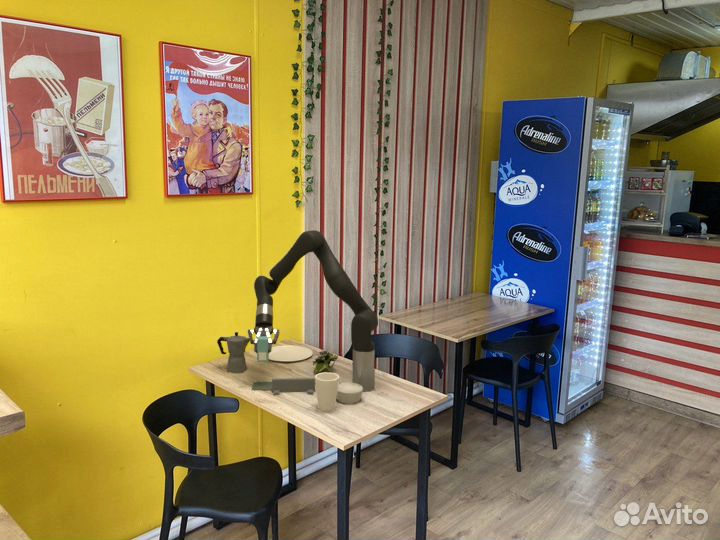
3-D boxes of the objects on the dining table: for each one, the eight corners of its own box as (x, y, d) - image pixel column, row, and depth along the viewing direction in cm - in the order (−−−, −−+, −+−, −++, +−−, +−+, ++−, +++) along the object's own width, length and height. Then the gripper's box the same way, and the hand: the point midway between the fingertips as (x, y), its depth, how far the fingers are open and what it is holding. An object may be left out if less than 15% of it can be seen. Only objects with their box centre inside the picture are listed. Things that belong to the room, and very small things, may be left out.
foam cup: (309, 407, 219) (310, 376, 217) (327, 401, 226) (328, 370, 223) (325, 415, 213) (326, 382, 210) (343, 408, 219) (344, 377, 217)
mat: (274, 382, 244) (274, 381, 244) (273, 390, 236) (273, 389, 235) (253, 382, 243) (253, 381, 243) (251, 390, 235) (251, 389, 234)
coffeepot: (252, 366, 263) (252, 329, 260) (249, 373, 254) (249, 335, 251) (220, 366, 263) (219, 329, 260) (215, 373, 254) (214, 334, 250)
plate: (294, 345, 298) (295, 342, 298) (322, 357, 279) (322, 354, 279) (253, 353, 282) (253, 350, 282) (279, 367, 263) (279, 364, 263)
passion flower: (323, 379, 264) (333, 356, 268) (335, 382, 255) (346, 358, 259) (304, 369, 258) (315, 346, 262) (317, 372, 250) (328, 347, 253)
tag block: (268, 358, 240) (268, 336, 238) (268, 362, 235) (267, 339, 234) (258, 358, 240) (257, 336, 238) (257, 362, 235) (257, 339, 233)
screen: (315, 390, 237) (315, 377, 236) (315, 394, 232) (315, 381, 231) (272, 391, 235) (272, 378, 234) (271, 395, 230) (271, 382, 229)
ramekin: (367, 398, 230) (368, 386, 229) (352, 407, 220) (352, 395, 219) (345, 392, 236) (345, 380, 235) (329, 400, 227) (329, 388, 226)
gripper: (247, 312, 241) (244, 348, 231) (280, 312, 242) (279, 348, 233) (248, 321, 247) (246, 356, 237) (281, 321, 248) (280, 356, 239)
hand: (262, 352), depth 235 cm, fingers closed on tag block, 4 cm apart
